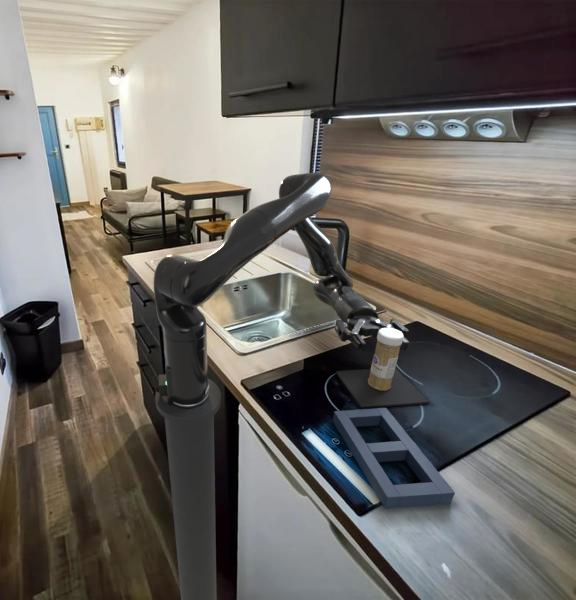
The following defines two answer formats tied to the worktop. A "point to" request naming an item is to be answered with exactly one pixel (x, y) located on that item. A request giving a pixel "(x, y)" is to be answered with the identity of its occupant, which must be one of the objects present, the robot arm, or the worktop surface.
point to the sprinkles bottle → (385, 358)
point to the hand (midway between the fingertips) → (384, 347)
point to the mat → (371, 398)
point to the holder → (398, 449)
